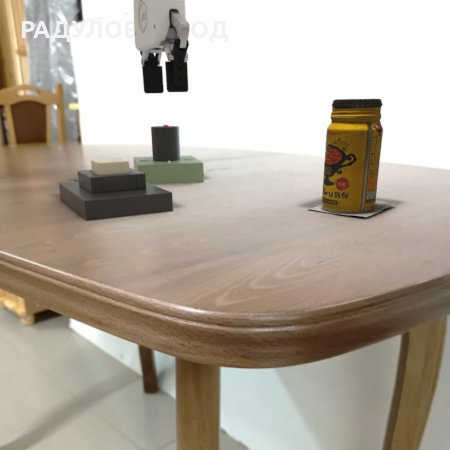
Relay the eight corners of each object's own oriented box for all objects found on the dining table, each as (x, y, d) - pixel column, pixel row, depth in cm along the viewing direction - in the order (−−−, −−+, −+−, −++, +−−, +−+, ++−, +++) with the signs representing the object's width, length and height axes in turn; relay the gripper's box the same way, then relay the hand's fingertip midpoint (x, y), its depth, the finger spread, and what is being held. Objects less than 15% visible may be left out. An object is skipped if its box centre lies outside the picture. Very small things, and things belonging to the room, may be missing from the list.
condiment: (306, 210, 57) (313, 98, 52) (340, 199, 63) (348, 98, 58) (366, 219, 52) (379, 98, 48) (395, 206, 58) (409, 98, 54)
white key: (92, 174, 59) (90, 159, 59) (121, 172, 61) (119, 158, 60) (100, 178, 56) (98, 163, 56) (130, 176, 58) (128, 161, 57)
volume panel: (134, 175, 84) (133, 156, 83) (191, 173, 86) (191, 154, 85) (139, 185, 74) (137, 163, 73) (203, 182, 76) (203, 161, 75)
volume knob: (151, 158, 80) (149, 124, 78) (178, 157, 81) (176, 123, 79) (154, 161, 76) (152, 125, 74) (182, 160, 77) (180, 125, 75)
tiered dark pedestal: (60, 199, 64) (56, 168, 62) (134, 192, 68) (132, 163, 66) (86, 221, 52) (82, 183, 51) (173, 211, 56) (171, 176, 55)
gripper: (113, -29, 74) (124, 94, 81) (153, -60, 60) (163, 91, 66) (160, -24, 77) (166, 93, 84) (208, -53, 63) (212, 91, 70)
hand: (165, 92), depth 75 cm, fingers open, 9 cm apart
